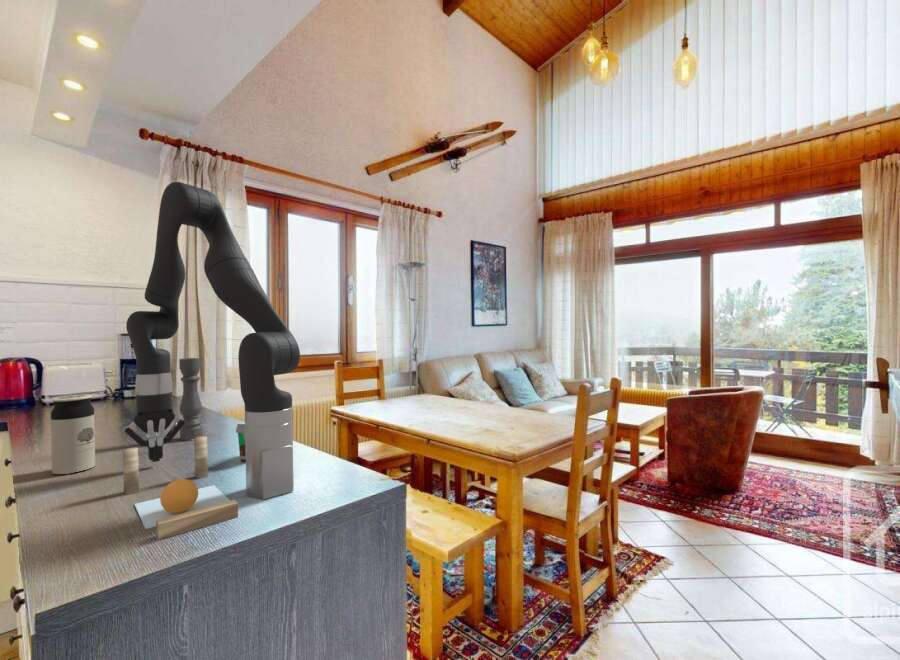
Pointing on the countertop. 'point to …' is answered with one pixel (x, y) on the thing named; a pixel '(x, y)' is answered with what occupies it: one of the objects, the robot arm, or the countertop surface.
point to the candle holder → (190, 399)
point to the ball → (179, 496)
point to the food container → (241, 441)
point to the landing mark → (155, 511)
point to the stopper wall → (196, 519)
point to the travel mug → (72, 434)
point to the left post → (130, 470)
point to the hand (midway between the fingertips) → (155, 460)
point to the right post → (201, 457)
